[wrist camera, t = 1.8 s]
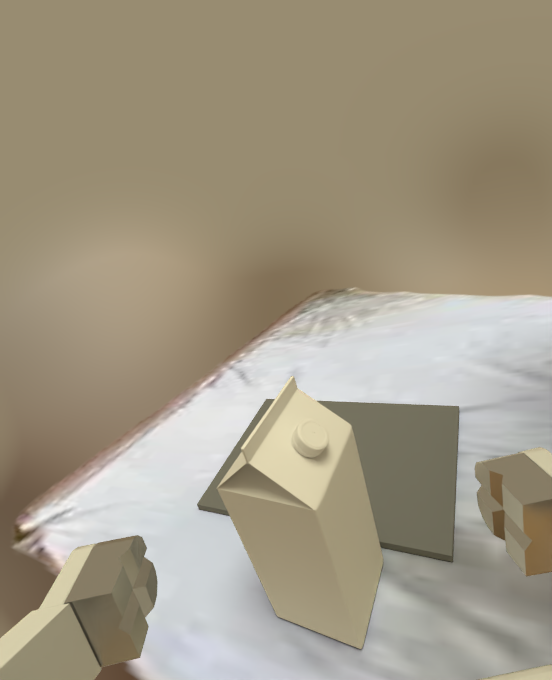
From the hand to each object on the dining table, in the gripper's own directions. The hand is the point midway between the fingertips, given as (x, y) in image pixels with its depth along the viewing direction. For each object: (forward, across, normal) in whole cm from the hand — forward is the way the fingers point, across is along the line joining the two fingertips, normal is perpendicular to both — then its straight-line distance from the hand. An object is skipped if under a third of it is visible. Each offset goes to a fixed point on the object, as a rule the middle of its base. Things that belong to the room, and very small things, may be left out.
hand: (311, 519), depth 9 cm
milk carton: (+18, 0, +23) cm, 29 cm away
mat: (+32, -3, +20) cm, 38 cm away
